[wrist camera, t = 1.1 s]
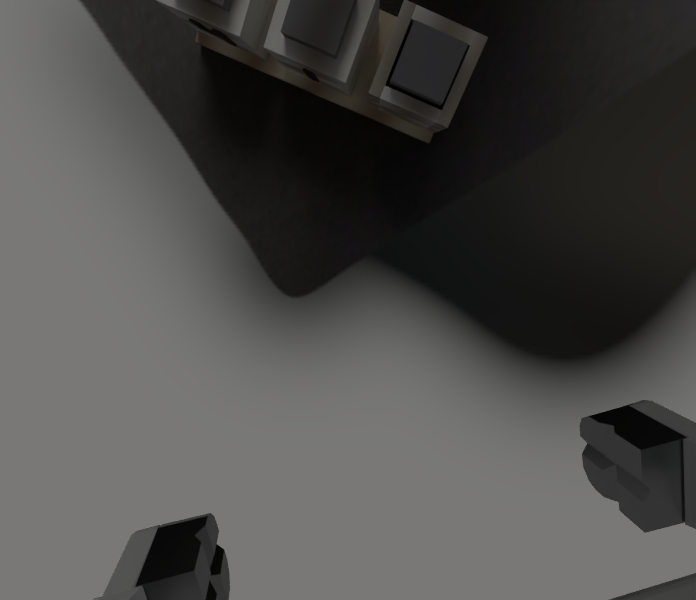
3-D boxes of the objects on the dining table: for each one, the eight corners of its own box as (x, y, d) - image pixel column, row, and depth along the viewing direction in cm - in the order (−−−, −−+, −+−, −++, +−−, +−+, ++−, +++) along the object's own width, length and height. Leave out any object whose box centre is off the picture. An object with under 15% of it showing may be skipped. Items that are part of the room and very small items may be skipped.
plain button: (387, 92, 41) (390, 80, 35) (408, 41, 39) (414, 19, 33) (432, 111, 41) (442, 103, 35) (453, 61, 40) (468, 44, 34)
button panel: (200, 45, 45) (142, 7, 34) (227, -55, 43) (173, -133, 31) (427, 143, 47) (445, 139, 35) (467, 53, 44) (499, 17, 33)
